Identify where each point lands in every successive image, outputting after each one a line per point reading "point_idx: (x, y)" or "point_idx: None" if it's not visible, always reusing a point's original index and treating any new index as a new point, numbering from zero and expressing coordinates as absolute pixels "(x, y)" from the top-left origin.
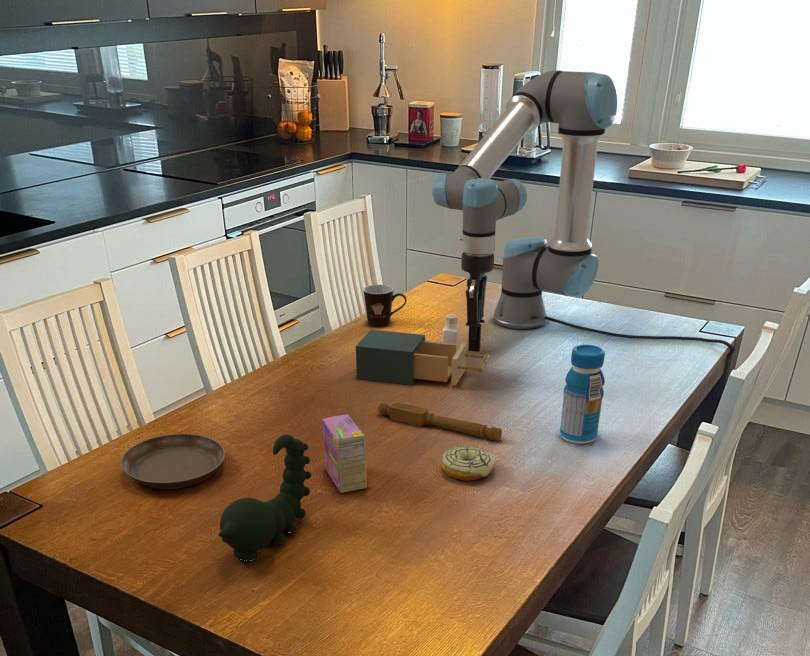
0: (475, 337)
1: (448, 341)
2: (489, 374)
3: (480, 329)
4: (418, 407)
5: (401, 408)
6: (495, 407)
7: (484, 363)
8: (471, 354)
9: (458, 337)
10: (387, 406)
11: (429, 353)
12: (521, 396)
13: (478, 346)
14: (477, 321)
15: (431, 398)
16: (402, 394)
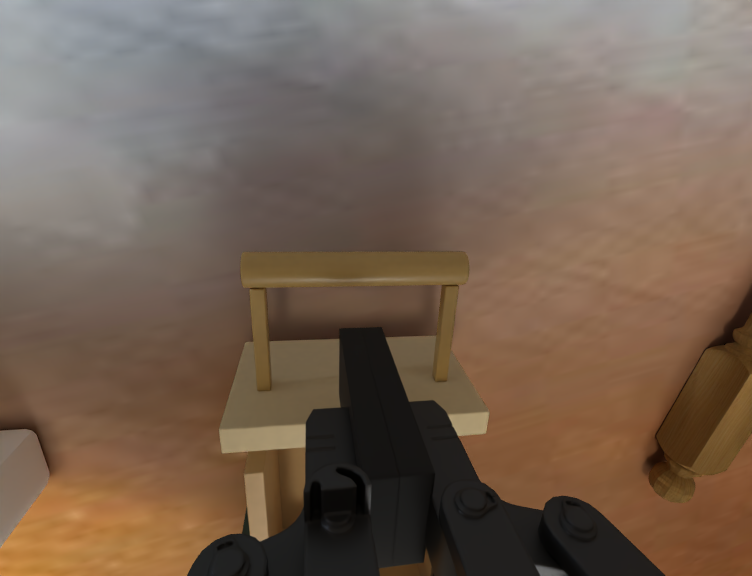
0: (445, 419)
1: (12, 501)
2: (232, 223)
3: (390, 438)
4: (735, 401)
5: (736, 443)
6: (601, 128)
7: (391, 260)
8: (261, 359)
9: None
10: (689, 480)
11: (276, 525)
12: (470, 4)
13: (389, 351)
14: (625, 562)
15: (531, 383)
16: (508, 469)
